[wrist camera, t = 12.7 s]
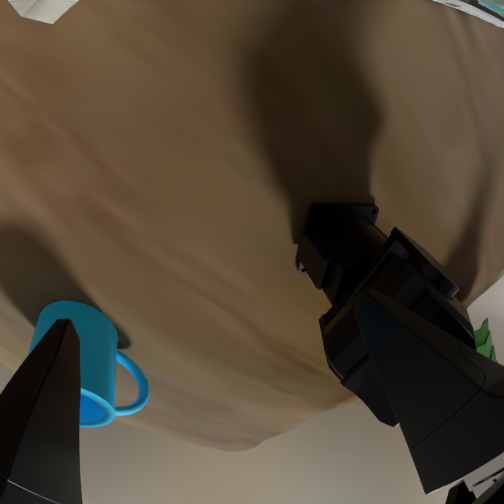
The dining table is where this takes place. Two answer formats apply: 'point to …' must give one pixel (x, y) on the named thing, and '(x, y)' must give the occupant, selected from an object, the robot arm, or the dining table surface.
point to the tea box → (480, 9)
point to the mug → (94, 361)
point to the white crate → (42, 9)
